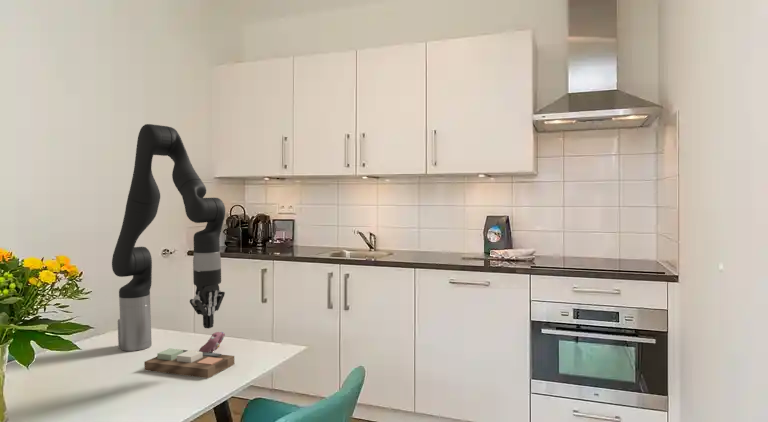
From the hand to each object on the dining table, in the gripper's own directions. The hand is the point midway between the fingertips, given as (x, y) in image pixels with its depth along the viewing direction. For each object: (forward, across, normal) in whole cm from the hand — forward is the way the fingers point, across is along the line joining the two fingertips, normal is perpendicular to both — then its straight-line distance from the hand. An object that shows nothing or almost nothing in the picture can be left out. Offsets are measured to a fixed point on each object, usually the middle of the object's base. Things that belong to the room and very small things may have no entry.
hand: (208, 327), depth 147 cm
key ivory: (+11, 0, -7) cm, 13 cm away
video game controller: (+13, -16, -11) cm, 23 cm away
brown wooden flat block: (+12, 0, -7) cm, 14 cm away
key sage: (+11, 0, -14) cm, 17 cm away
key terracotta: (+12, 0, 0) cm, 12 cm away
